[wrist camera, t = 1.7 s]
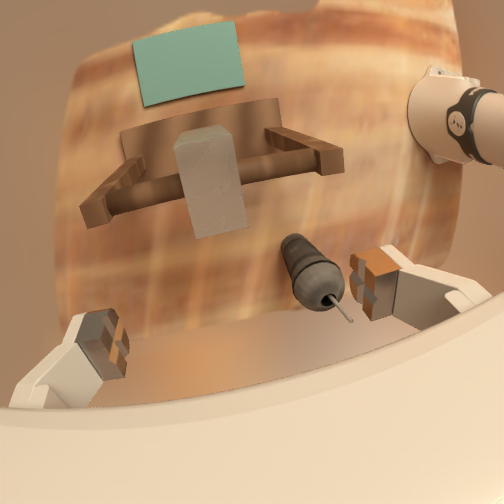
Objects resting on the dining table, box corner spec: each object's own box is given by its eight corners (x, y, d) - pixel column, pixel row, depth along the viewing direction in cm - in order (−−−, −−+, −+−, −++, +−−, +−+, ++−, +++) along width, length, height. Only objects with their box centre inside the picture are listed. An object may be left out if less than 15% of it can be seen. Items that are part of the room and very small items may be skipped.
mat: (233, 21, 33) (233, 20, 33) (244, 85, 38) (245, 85, 37) (133, 42, 32) (132, 41, 32) (145, 106, 37) (144, 106, 36)
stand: (275, 98, 40) (343, 98, 21) (284, 163, 44) (351, 216, 25) (121, 131, 38) (59, 160, 19) (138, 195, 43) (99, 272, 24)
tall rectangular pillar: (220, 123, 29) (232, 134, 20) (232, 187, 32) (248, 227, 23) (181, 132, 29) (173, 147, 19) (195, 195, 32) (195, 239, 23)
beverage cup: (273, 227, 49) (317, 302, 31) (316, 224, 50) (376, 293, 33) (272, 266, 52) (309, 350, 35) (312, 263, 53) (363, 340, 36)
